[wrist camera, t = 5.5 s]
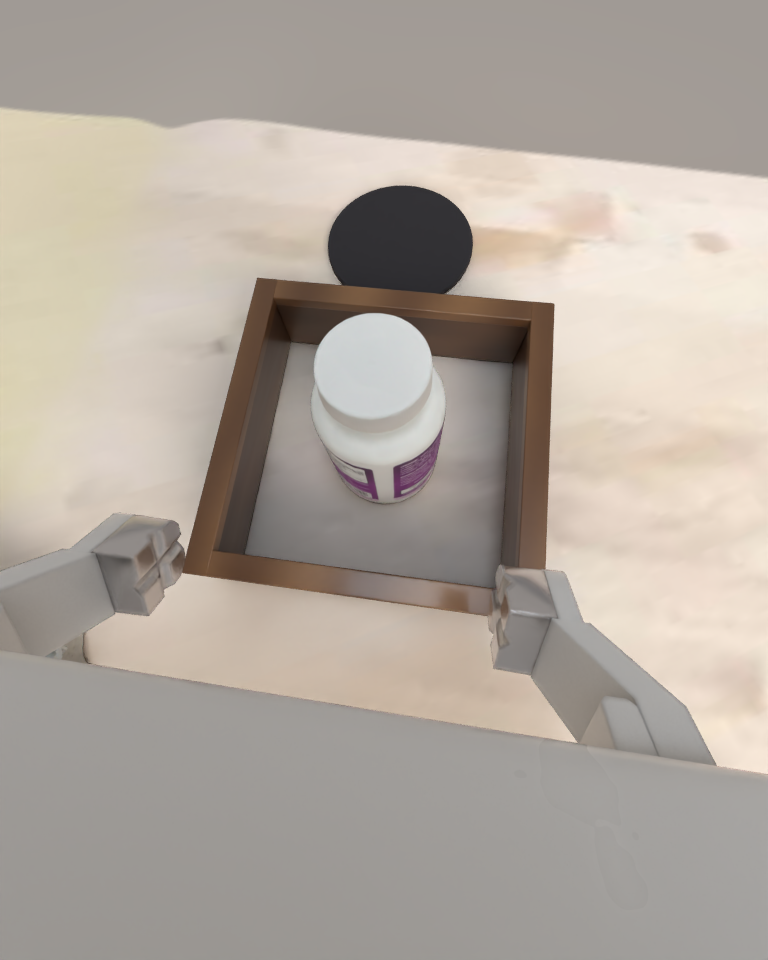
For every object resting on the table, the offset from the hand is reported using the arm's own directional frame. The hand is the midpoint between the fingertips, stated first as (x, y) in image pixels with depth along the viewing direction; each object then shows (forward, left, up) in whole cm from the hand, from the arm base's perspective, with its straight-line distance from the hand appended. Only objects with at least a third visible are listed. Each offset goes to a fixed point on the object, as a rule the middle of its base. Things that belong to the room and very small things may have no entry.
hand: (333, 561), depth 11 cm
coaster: (+3, +21, -11) cm, 24 cm away
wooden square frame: (+1, +7, -11) cm, 13 cm away
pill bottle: (+1, +7, -11) cm, 13 cm away
